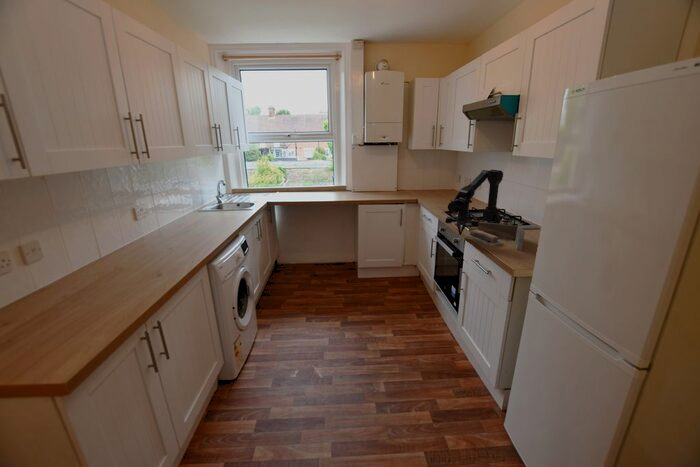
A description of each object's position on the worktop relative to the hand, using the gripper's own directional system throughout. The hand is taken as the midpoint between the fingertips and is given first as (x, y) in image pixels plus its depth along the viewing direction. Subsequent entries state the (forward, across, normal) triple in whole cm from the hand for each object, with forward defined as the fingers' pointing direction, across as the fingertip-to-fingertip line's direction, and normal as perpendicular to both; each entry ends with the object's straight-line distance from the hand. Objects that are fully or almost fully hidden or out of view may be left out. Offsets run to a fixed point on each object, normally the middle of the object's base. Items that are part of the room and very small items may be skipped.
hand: (460, 234), depth 185 cm
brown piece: (+2, +21, +1) cm, 21 cm away
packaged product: (+2, +14, +1) cm, 14 cm away
